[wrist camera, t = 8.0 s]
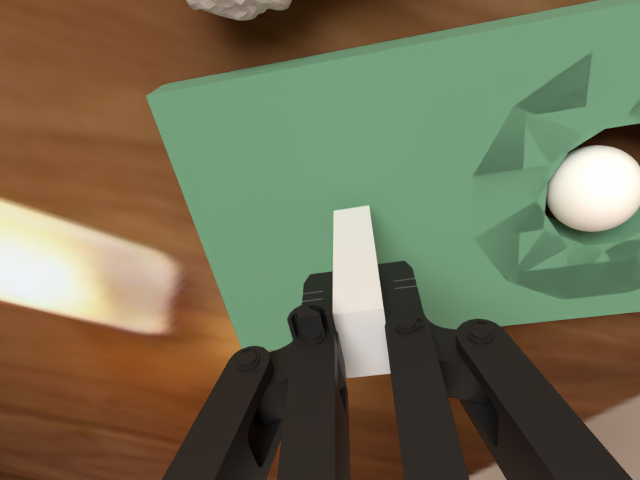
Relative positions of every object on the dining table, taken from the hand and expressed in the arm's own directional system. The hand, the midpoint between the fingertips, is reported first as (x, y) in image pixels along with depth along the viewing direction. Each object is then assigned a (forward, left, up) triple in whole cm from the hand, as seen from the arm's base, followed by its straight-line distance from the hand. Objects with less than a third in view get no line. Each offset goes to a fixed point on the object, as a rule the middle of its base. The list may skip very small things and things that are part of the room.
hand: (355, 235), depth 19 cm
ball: (+10, 0, -1) cm, 10 cm away
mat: (+5, 0, -3) cm, 6 cm away
